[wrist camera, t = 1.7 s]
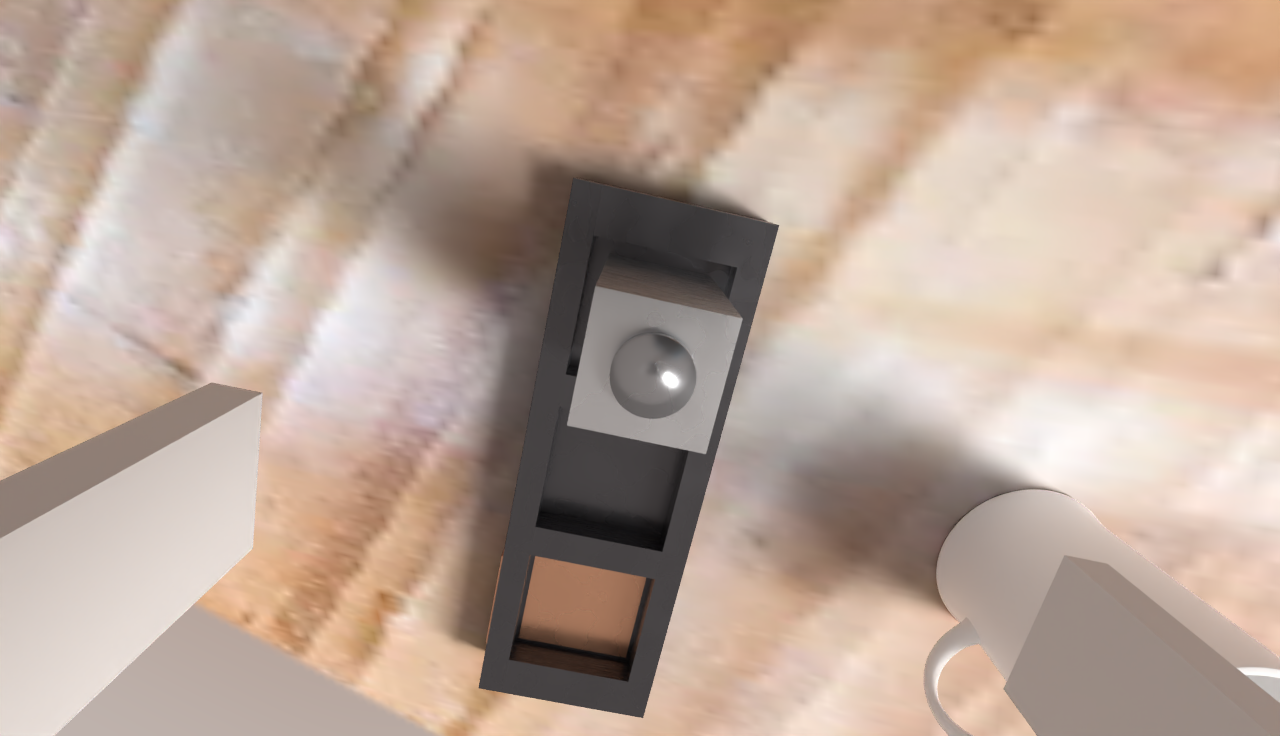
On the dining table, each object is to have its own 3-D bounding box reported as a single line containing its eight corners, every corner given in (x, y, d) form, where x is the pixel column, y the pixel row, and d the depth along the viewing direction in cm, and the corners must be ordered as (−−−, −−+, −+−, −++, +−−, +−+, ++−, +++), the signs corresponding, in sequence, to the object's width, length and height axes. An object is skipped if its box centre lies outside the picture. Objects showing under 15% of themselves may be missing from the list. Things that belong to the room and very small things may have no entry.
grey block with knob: (609, 253, 28) (594, 288, 19) (711, 276, 28) (745, 322, 19) (588, 352, 29) (565, 431, 20) (686, 373, 29) (707, 460, 20)
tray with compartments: (577, 177, 28) (571, 177, 25) (768, 221, 28) (780, 225, 26) (488, 652, 34) (476, 687, 32) (643, 681, 35) (643, 718, 33)
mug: (888, 664, 35) (1012, 904, 23) (857, 529, 32) (977, 721, 21) (1110, 611, 34) (1354, 833, 22) (1094, 468, 32) (1356, 633, 20)
